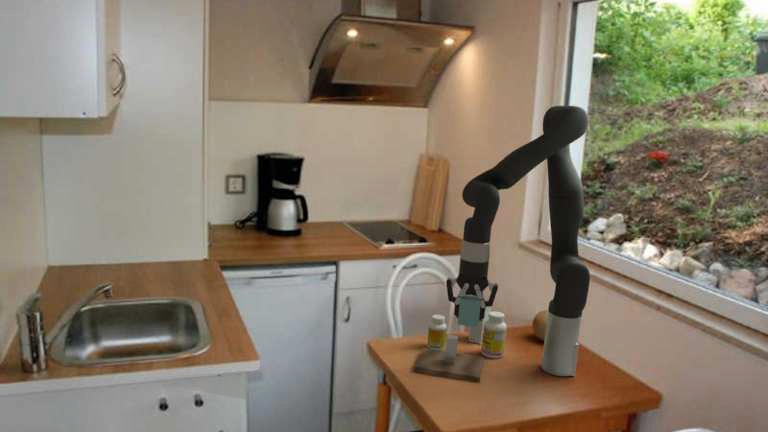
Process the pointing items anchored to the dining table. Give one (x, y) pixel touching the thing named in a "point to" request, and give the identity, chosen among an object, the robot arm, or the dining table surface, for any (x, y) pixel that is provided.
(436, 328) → the supplement bottle
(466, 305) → the aqua rectangular box
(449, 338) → the post
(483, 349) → the supplement bottle
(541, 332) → the onion
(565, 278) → the robot arm
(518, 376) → the dining table surface
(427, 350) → the post board
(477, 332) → the skincare box
